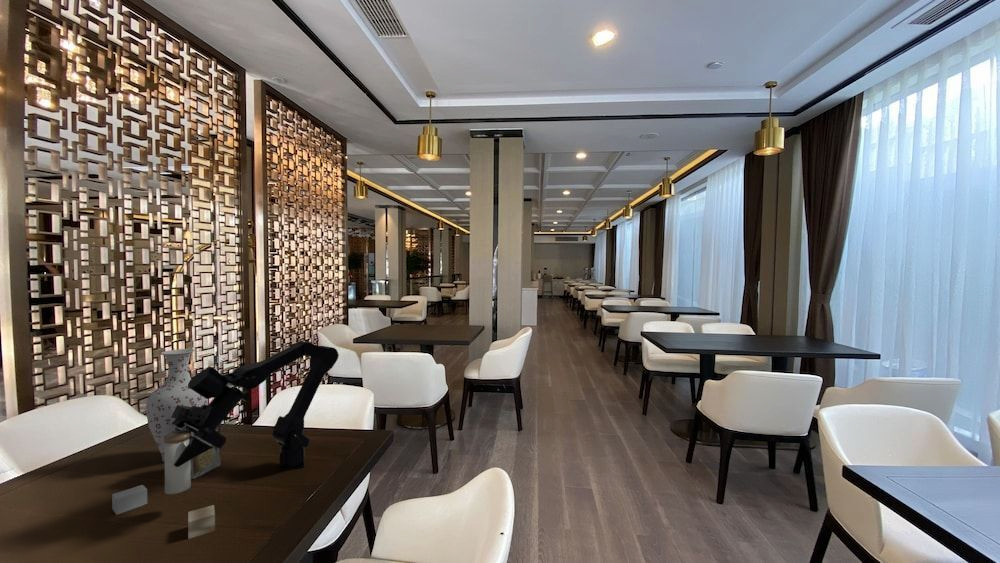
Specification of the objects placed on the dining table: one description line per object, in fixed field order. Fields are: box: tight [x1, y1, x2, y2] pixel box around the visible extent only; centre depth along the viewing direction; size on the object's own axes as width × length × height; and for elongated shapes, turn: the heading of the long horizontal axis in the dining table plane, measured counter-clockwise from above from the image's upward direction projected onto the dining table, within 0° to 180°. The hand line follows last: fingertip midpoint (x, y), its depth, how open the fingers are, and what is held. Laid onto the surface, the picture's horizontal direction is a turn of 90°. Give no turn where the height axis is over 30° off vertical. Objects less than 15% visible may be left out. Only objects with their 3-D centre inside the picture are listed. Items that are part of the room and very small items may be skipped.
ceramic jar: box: [164, 430, 192, 495], centre depth 103 cm, size 5×5×14 cm
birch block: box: [187, 504, 216, 540], centre depth 96 cm, size 5×5×4 cm
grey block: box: [111, 484, 148, 515], centre depth 105 cm, size 6×4×4 cm, turn 145°
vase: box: [145, 348, 209, 462], centre depth 134 cm, size 16×16×35 cm
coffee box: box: [177, 424, 222, 480], centre depth 124 cm, size 9×6×16 cm
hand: (171, 463), depth 102 cm, fingers closed on ceramic jar, 5 cm apart
